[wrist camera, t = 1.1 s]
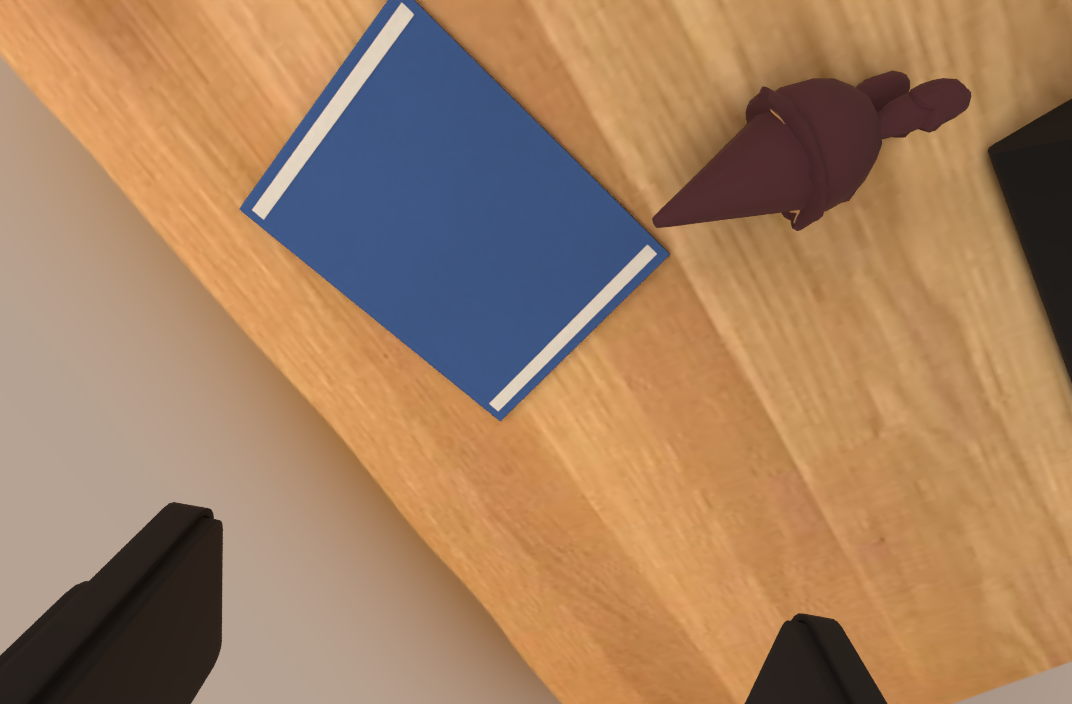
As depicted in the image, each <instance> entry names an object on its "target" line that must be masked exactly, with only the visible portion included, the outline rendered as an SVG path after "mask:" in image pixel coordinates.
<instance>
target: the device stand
mask: <svg viewBox="0 0 1072 704" xmlns="http://www.w3.org/2000/svg"><path fill="white" fill-rule="evenodd" d="M988 153H989V155H990V158H991V161H992V164H993V166H994V169H995V172H996V175H997V177H998V180H999V183H1000V186H1001V188H1002V191H1003V194H1004V197H1005V199H1006V202H1007V205H1008V208H1009V211H1010V213H1011V216H1012V219H1013V222H1014V224H1015V227H1016V230H1017V233H1018V235H1019V238H1020V241H1021V244H1022V246H1023V249H1024V252H1025V255H1026V257H1027V260H1028V263H1029V266H1030V268H1031V271H1032V274H1033V277H1034V280H1035V282H1036V285H1037V288H1038V291H1039V293H1040V296H1041V299H1042V302H1043V304H1044V307H1045V310H1046V313H1047V315H1048V318H1049V321H1050V324H1051V326H1052V329H1053V332H1054V335H1055V337H1056V340H1057V343H1058V346H1059V349H1060V351H1061V354H1062V357H1063V360H1064V362H1065V365H1066V368H1067V371H1068V373H1069V376H1070V379H1071V382H1072V99H1071V100H1069V101H1067V102H1066V103H1064V104H1062V105H1061V106H1059V107H1057V108H1055V109H1054V110H1052V111H1050V112H1049V113H1047V114H1045V115H1043V116H1042V117H1040V118H1038V119H1037V120H1035V121H1033V122H1031V123H1030V124H1028V125H1026V126H1025V127H1023V128H1021V129H1019V130H1018V131H1016V132H1014V133H1013V134H1011V135H1009V136H1007V137H1006V138H1004V139H1002V140H1001V141H999V142H997V143H995V144H994V145H993V146H991V147H990V148H989V150H988Z"/></svg>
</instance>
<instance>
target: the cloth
mask: <svg viewBox="0 0 1072 704" xmlns="http://www.w3.org/2000/svg"><path fill="white" fill-rule="evenodd" d="M240 210H241V211H242V212H243V213H244V214H246V215H247V216H248V217H249V218H251V219H252V220H253V221H254V222H256V223H257V224H258V225H259V226H260V227H262V228H263V229H264V230H265V231H267V232H268V233H269V234H270V235H272V236H273V237H274V238H275V239H276V240H278V241H279V242H280V243H281V244H283V245H284V246H285V247H286V248H288V249H289V250H290V251H291V252H292V253H294V254H295V255H296V256H297V257H299V258H300V259H301V260H302V261H304V262H305V263H306V264H307V265H308V266H310V267H311V268H312V269H313V270H315V271H316V272H317V273H318V274H320V275H321V276H322V277H323V278H324V279H326V280H327V281H328V282H329V283H331V284H332V285H333V286H334V287H336V288H337V289H338V290H339V291H340V292H342V293H343V294H344V295H345V296H347V297H348V298H349V299H350V300H352V301H353V302H354V303H355V304H356V305H358V306H359V307H360V308H361V309H363V310H364V311H365V312H366V313H368V314H369V315H370V316H371V317H372V318H374V319H375V320H376V321H377V322H379V323H380V324H381V325H382V326H384V327H385V328H386V329H387V330H388V331H390V332H391V333H392V334H393V335H395V336H396V337H397V338H398V339H400V340H401V341H402V342H403V343H404V344H406V345H407V346H408V347H409V348H411V349H412V350H413V351H414V352H416V353H417V354H418V355H419V356H420V357H422V358H423V359H424V360H425V361H427V362H428V363H429V364H430V365H432V366H433V367H434V368H435V369H436V370H438V371H439V372H440V373H441V374H443V375H444V376H445V377H446V378H448V379H449V380H450V381H451V382H452V383H454V384H455V385H456V386H457V387H459V388H460V389H461V390H462V391H464V392H465V393H466V394H467V395H468V396H470V397H471V398H472V399H473V400H475V401H476V402H477V403H478V404H480V405H481V406H482V407H483V408H484V409H486V410H487V411H488V412H489V413H491V414H492V415H493V416H494V417H496V418H497V419H498V420H499V421H501V420H502V419H503V418H504V417H505V416H506V415H507V414H508V413H509V412H510V411H511V410H512V409H513V408H514V407H515V406H516V405H517V404H518V403H519V402H520V401H521V400H522V399H523V398H524V397H526V396H527V395H528V394H529V393H530V392H531V391H532V390H533V389H534V388H535V387H536V386H537V385H538V384H539V383H540V382H541V381H542V380H543V379H544V378H545V377H546V376H547V375H548V374H549V373H550V372H551V371H552V370H553V369H554V368H555V367H556V366H557V365H558V364H559V363H560V362H561V361H562V360H563V359H564V358H565V357H566V356H567V355H568V354H569V353H570V352H571V351H572V350H573V349H574V348H575V347H576V346H577V345H578V344H579V343H580V342H581V341H582V340H583V339H584V338H586V337H587V336H588V335H589V334H590V333H591V332H592V331H593V330H594V329H595V328H596V327H597V326H598V325H599V324H600V323H601V322H602V321H603V320H604V319H605V318H606V317H607V316H608V315H609V314H610V313H611V312H612V311H613V310H614V309H615V308H616V307H617V306H618V305H619V304H620V303H621V302H622V301H623V300H624V299H625V298H626V297H627V296H628V295H629V294H630V293H631V292H632V291H633V290H634V289H635V288H636V287H637V286H638V285H639V284H640V283H641V282H642V281H643V280H644V279H646V278H647V277H648V276H649V275H650V274H651V273H652V272H653V271H654V270H655V269H656V268H657V267H658V266H659V265H660V264H661V263H662V262H663V261H664V260H665V259H666V258H667V257H668V256H669V255H670V254H669V253H668V252H667V251H666V250H665V249H664V248H663V247H662V246H661V245H660V244H659V243H658V242H657V241H656V240H655V239H654V238H653V237H652V236H651V235H650V234H649V233H648V232H647V231H646V230H645V229H644V228H643V227H642V226H641V225H640V224H639V223H638V222H637V221H636V220H635V219H634V218H633V217H632V216H631V215H630V214H629V213H628V212H627V211H626V210H625V209H624V208H623V207H622V206H621V205H620V204H619V203H618V202H617V201H616V200H615V199H614V198H613V197H612V196H611V195H610V194H609V193H608V192H607V191H606V190H605V189H604V188H603V187H602V186H601V185H600V184H599V183H598V182H597V181H596V180H595V179H594V178H593V177H592V176H591V175H590V174H589V173H588V172H587V171H586V170H585V169H584V168H583V167H582V166H581V165H580V164H579V163H578V162H577V161H576V160H575V159H574V158H573V157H572V156H571V155H570V154H569V153H568V152H567V151H566V150H565V149H564V148H563V147H562V146H561V145H560V144H559V143H558V142H557V141H556V140H555V139H554V138H553V137H552V136H551V135H550V134H549V133H548V132H547V131H546V130H545V129H544V128H542V127H541V126H540V125H539V124H538V123H537V122H536V121H535V120H534V119H533V118H532V117H531V116H530V115H529V114H528V113H527V112H526V111H525V110H524V109H523V108H522V107H521V106H520V105H519V104H518V103H517V102H516V101H515V100H514V99H513V98H512V97H511V96H510V95H509V94H508V93H507V92H506V91H505V90H504V89H503V88H502V87H501V86H500V85H499V84H498V83H497V82H496V81H495V80H494V79H493V78H492V77H491V76H490V75H489V74H488V73H487V72H486V71H485V70H484V69H483V68H482V67H481V66H480V65H479V64H478V63H477V62H476V61H475V60H474V59H473V58H472V57H471V56H470V55H469V54H468V53H467V52H466V51H465V50H464V49H463V48H462V47H461V46H460V45H459V44H458V43H457V42H456V41H455V40H454V39H453V38H452V37H451V36H450V35H449V34H448V33H447V32H446V31H445V30H444V29H443V28H442V27H441V26H440V25H439V24H438V23H437V22H436V21H435V20H434V19H433V18H432V17H431V16H430V15H429V14H428V13H427V12H426V11H425V10H424V9H423V8H422V7H421V6H420V5H419V4H418V3H417V2H416V1H415V0H388V1H387V3H386V4H385V5H384V7H383V8H382V10H381V11H380V12H379V14H378V15H377V17H376V18H375V19H374V21H373V22H372V24H371V25H370V26H369V28H368V29H367V31H366V32H365V33H364V35H363V36H362V38H361V39H360V40H359V42H358V43H357V45H356V46H355V47H354V49H353V50H352V52H351V53H350V54H349V56H348V57H347V59H346V60H345V61H344V63H343V64H342V66H341V67H340V68H339V70H338V71H337V73H336V74H335V75H334V77H333V78H332V80H331V81H330V82H329V84H328V85H327V87H326V88H325V89H324V91H323V92H322V94H321V95H320V96H319V98H318V99H317V101H316V102H315V103H314V105H313V106H312V108H311V109H310V110H309V112H308V113H307V115H306V116H305V117H304V119H303V120H302V122H301V123H300V125H299V126H298V127H297V129H296V130H295V132H294V133H293V134H292V136H291V137H290V139H289V140H288V141H287V143H286V144H285V146H284V147H283V148H282V150H281V151H280V153H279V154H278V155H277V157H276V158H275V160H274V161H273V162H272V164H271V165H270V167H269V168H268V169H267V171H266V172H265V174H264V175H263V176H262V178H261V179H260V181H259V182H258V183H257V185H256V186H255V188H254V189H253V190H252V192H251V193H250V195H249V196H248V197H247V199H246V200H245V202H244V203H243V204H242V206H241V207H240Z"/></svg>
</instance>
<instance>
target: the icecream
mask: <svg viewBox="0 0 1072 704" xmlns="http://www.w3.org/2000/svg"><path fill="white" fill-rule="evenodd" d="M909 89H910V80H909V79H908V77H907V75H905V74H903V73H901V72H896V71H890V72H887V73H884V74H881V75H878V76H875V77H872V78H869V79H866V80H864V81H863V82H862V83H860V84H859V85H858V86H857V87H853V86H852V85H849V84H846V83H844V82H841V81H839V80H836V79H810V80H806V81H802V82H799V83H795V84H792V85H788V86H785V87H781V88H779V89H777V90H776V91H773V90H771V89H769V88H767V87H762V88H761V90H760V93H759V94H758V95H756V96H755V97H754V98H753V99H752V100H750V102H749V104H748V106H747V109H746V120H747V125H746V126H745V127H744V128H743V129H742V130H741V131H740V132H739V133H738V134H737V135H736V136H735V137H734V138H733V139H732V140H731V141H730V142H729V143H728V144H727V145H726V146H725V147H724V148H723V149H722V150H721V151H720V152H719V153H718V154H717V155H716V156H715V157H714V158H713V159H712V160H711V161H710V162H709V163H708V164H707V165H706V166H705V167H704V168H703V169H702V170H701V171H700V172H699V173H698V174H697V175H696V176H695V177H694V178H693V179H692V180H691V181H690V182H688V183H687V184H686V185H685V186H684V187H683V188H682V189H681V190H680V191H679V192H678V193H677V194H676V195H675V196H674V197H673V198H672V199H671V200H670V201H669V202H668V203H667V204H666V205H665V206H664V207H663V208H662V209H661V210H660V211H659V212H658V213H657V214H656V215H655V216H654V217H653V218H652V220H653V224H654V225H655V227H656V228H662V227H672V226H679V225H687V224H694V223H702V222H710V221H717V220H725V219H733V218H741V217H749V216H757V215H764V214H772V213H780V212H782V214H783V216H784V217H785V218H787V219H789V220H791V226H792V228H793V229H795V230H796V231H799V230H802V229H803V228H805V227H806V226H808V225H809V224H811V223H812V222H814V221H817V220H819V219H820V218H821V217H822V216H823V213H824V211H827V210H829V209H831V208H833V207H834V206H836V205H838V204H840V203H842V202H846V201H849V200H850V198H851V197H852V196H853V195H854V193H855V192H856V190H857V189H858V188H859V187H860V185H861V184H862V183H863V182H864V181H865V179H866V177H867V176H868V174H869V172H870V170H871V168H872V167H873V165H874V163H875V161H876V159H877V156H878V154H879V151H880V148H881V145H882V139H885V138H889V137H906V136H907V135H908V134H909V133H910V132H912V131H914V130H917V129H920V130H923V131H926V132H932V131H935V130H937V129H938V128H939V127H940V126H941V125H942V124H943V123H945V122H947V121H949V120H951V119H953V118H955V117H957V116H958V115H959V114H961V113H962V112H964V111H965V110H966V109H967V108H968V106H969V103H970V99H971V92H970V91H969V90H968V89H967V88H966V87H965V85H963V84H962V83H961V82H960V81H958V80H957V79H945V78H942V79H936V80H932V81H929V82H926V83H923V84H920V85H918V86H917V87H915V88H913V89H911V90H910V91H909Z"/></svg>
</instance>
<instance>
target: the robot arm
mask: <svg viewBox="0 0 1072 704" xmlns="http://www.w3.org/2000/svg"><path fill="white" fill-rule="evenodd" d="M222 545H223V526H222V522H221V521H220V520H216V519H214V516H213V512H212V510H211V509H209V508H204V507H198V506H192V505H187V504H181V503H176V502H173V503H169V504H168V505H167V506H165V507H164V508H163V509H162V510H161V511H160V512H159V513H158V514H157V515H156V516H155V517H154V518H153V519H152V520H151V521H150V522H149V523H148V524H147V525H146V526H145V527H144V528H143V529H142V530H141V531H140V532H139V533H138V534H136V536H135V537H133V538H132V539H131V540H130V541H129V543H127V544H126V545H125V546H124V547H123V548H122V549H121V550H120V551H119V552H118V553H117V554H116V555H115V556H114V557H113V558H112V559H111V560H110V561H109V562H108V563H107V564H106V565H105V566H104V567H103V568H102V569H101V570H100V571H99V572H98V573H97V574H96V575H95V576H94V577H93V578H92V579H91V580H90V581H84V582H82V583H80V584H77V585H75V586H74V587H73V588H71V589H70V590H69V591H68V592H66V593H65V594H64V595H63V596H62V597H61V598H60V599H59V600H58V601H57V602H56V603H55V604H54V605H53V606H51V607H50V608H49V610H47V611H46V612H45V613H44V614H43V615H42V616H41V617H40V618H39V619H38V620H37V621H36V622H35V623H34V624H33V625H32V626H31V627H30V628H29V629H28V630H26V631H25V633H23V634H22V635H21V636H20V637H19V638H18V639H17V640H16V641H15V642H14V643H13V644H12V645H11V646H10V647H9V648H8V649H7V650H6V651H5V652H4V653H2V654H1V655H0V704H191V703H192V701H193V699H194V698H195V696H196V695H197V693H198V691H199V689H200V688H201V686H202V685H203V683H204V682H205V680H206V678H207V677H208V675H209V674H210V672H211V670H212V669H213V667H214V665H215V663H216V660H217V658H218V656H219V652H220V649H221V642H222V551H223V546H222ZM745 704H887V702H886V701H885V699H884V697H883V695H882V694H881V692H880V690H879V689H878V687H877V685H876V684H875V682H874V680H873V679H872V677H871V675H870V674H869V672H868V670H867V669H866V667H865V665H864V664H863V662H862V660H861V659H860V657H859V655H858V653H857V652H856V650H855V648H854V647H853V645H852V643H851V642H850V640H849V638H848V637H847V635H846V633H845V632H844V630H843V628H842V627H841V626H840V624H839V623H838V622H837V621H835V620H834V619H830V618H825V617H819V616H813V615H808V614H800V613H798V614H797V615H795V616H794V617H793V619H792V620H791V621H786V622H784V624H783V625H782V627H781V629H780V631H779V633H778V635H777V637H776V639H775V642H774V644H773V646H772V648H771V650H770V652H769V654H768V656H767V658H766V660H765V662H764V665H763V667H762V669H761V671H760V673H759V675H758V677H757V679H756V681H755V683H754V686H753V688H752V690H751V692H750V694H749V696H748V698H747V700H746V702H745Z"/></svg>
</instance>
